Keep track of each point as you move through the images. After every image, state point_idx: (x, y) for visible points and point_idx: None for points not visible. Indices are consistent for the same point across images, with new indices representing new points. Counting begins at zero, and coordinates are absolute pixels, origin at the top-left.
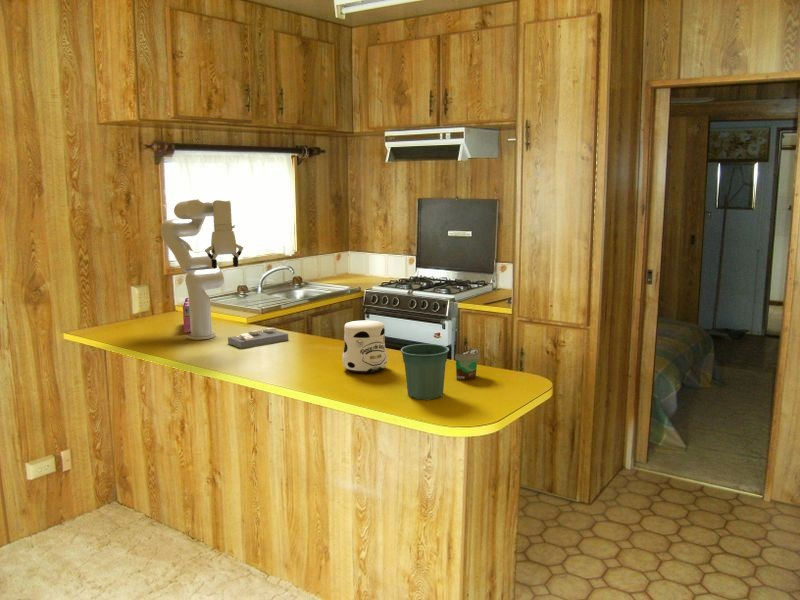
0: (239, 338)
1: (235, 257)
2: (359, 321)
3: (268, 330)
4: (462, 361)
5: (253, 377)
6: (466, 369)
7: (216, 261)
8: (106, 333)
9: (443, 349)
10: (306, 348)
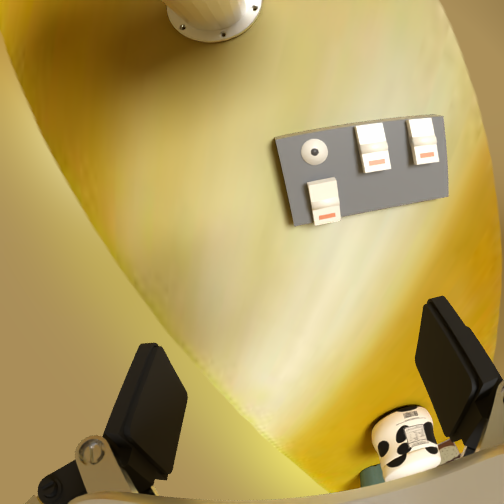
0: (306, 175)
1: (459, 434)
2: (424, 462)
3: (414, 158)
4: None
5: (247, 408)
6: None
7: (172, 458)
8: None
9: None
10: (425, 290)
